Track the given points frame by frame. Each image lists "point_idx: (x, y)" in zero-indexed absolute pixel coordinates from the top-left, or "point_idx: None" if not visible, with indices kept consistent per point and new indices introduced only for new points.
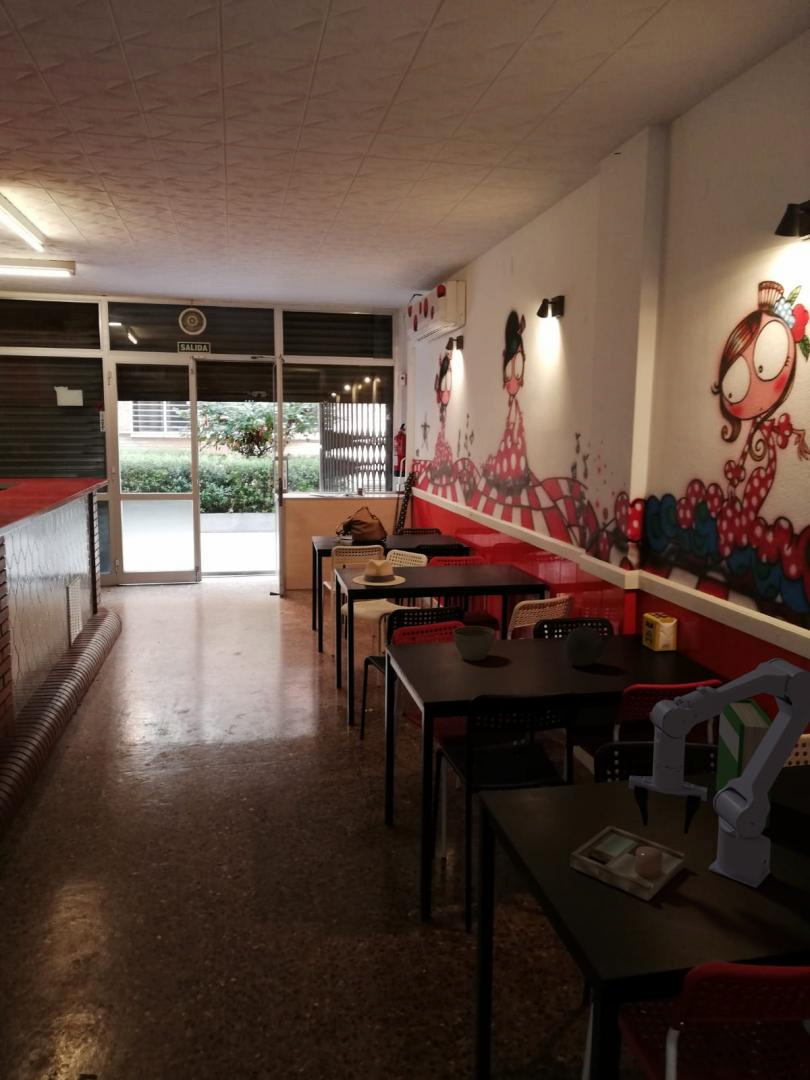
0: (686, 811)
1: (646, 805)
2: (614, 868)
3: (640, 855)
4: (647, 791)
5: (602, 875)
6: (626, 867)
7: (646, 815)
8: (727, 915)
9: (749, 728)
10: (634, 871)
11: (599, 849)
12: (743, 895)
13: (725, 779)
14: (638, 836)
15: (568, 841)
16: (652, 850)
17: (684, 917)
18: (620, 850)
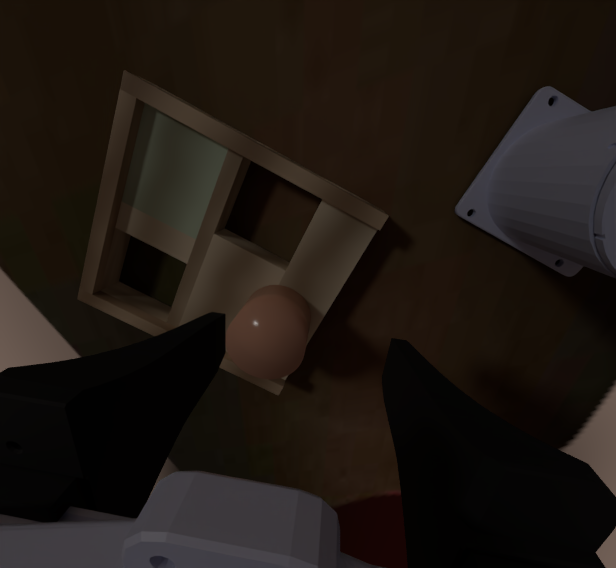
0: (407, 525)
1: (166, 442)
2: (195, 318)
3: (240, 362)
4: (99, 506)
5: None
6: (223, 307)
7: (199, 393)
8: None
9: None
10: None
11: (139, 234)
12: (514, 310)
13: None
14: (234, 132)
15: (56, 156)
16: (274, 329)
17: (354, 407)
18: (195, 223)
